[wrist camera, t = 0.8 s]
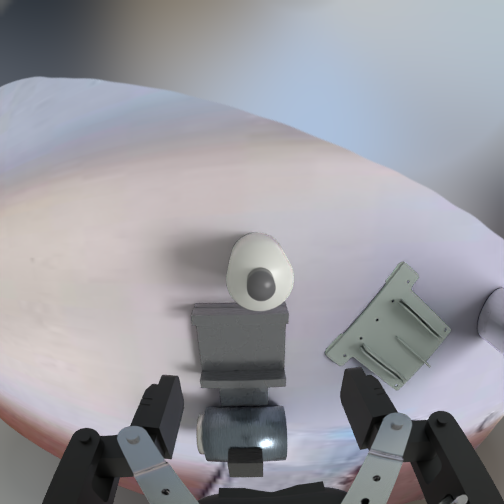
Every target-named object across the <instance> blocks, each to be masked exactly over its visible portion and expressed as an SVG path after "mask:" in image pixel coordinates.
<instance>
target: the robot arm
mask: <svg viewBox="0 0 504 504" xmlns="http://www.w3.org/2000/svg"><path fill="white" fill-rule="evenodd" d="M478 333H479V335H480V336H481V337H482V338H483V339H484V340H486V341H487V342H488V343H489V344H491V345H492V346H493V347H494V348H495V349H497V350H498V351H499V352H500V353H502V354H503V355H504V288H499V289H497V290H496V291H494V292H493V293H492V294H491V295H490V297H489V298H488V299H487V301H486V303H485V304H484V306H483V308H482V311H481V313H480V316H479V320H478ZM340 398H341V403H342V405H343V408H344V410H345V413H346V415H347V418H348V420H349V423H350V425H351V428H352V430H353V433H354V436H355V438H356V441H357V443H358V446H359V448H360V450H362V449H366V448H368V449H369V453H368V455H367V457H366V459H365V461H364V463H363V465H362V467H361V469H360V471H359V473H358V475H357V476H356V478H355V480H354V482H353V484H352V486H351V487H350V489H349V491H348V493H347V492H345V491H342V490H339V489H335V488H329V487H324V484H323V481H322V482H316V483H309V484H301V485H296V486H293V487H290V488H286V489H283V490H279V491H276V492H265V491H258V490H252V489H246V488H219V494H214V495H211V496H207V497H204V498H202V499H200V500H198V501H197V500H196V499H195V498H194V496H193V495H192V494H191V493H190V491H189V490H188V489H187V488H186V486H185V485H184V484H183V482H182V481H181V480H180V478H179V477H178V476H177V474H176V473H175V471H174V470H173V469H172V467H171V466H170V464H169V463H168V462H166V461H165V460H164V458H165V459H172V455H173V451H174V447H175V442H176V438H177V434H178V430H179V426H180V422H181V417H182V413H183V409H184V399H183V395H182V390H181V386H180V381H179V377H178V376H173V375H162V376H161V379H160V381H159V384H152V385H151V386H150V387H148V388H147V389H146V390H145V392H144V395H143V397H142V399H141V402H140V405H139V406H138V409H137V411H136V413H135V416H134V418H133V420H132V423H131V425H130V426H129V427H126V428H124V429H122V430H121V431H120V432H119V433H118V435H113V436H99V434H98V432H97V431H95V430H93V429H91V428H83V429H80V430H78V431H76V432H75V433H74V434H73V436H72V438H71V440H70V442H69V444H68V446H67V448H66V450H65V452H64V454H63V457H62V459H61V461H60V463H59V466H58V467H57V470H56V472H55V474H54V476H53V479H52V481H51V484H50V486H49V488H48V490H47V493H46V495H45V498H44V500H43V503H42V504H113V502H114V497H115V494H116V490H117V486H118V483H119V479H120V477H133V476H134V477H135V478H136V480H137V482H138V484H139V486H140V487H141V489H142V491H143V493H144V494H145V496H146V498H147V499H148V501H149V502H150V504H386V503H387V500H388V498H389V496H390V493H391V491H392V489H393V486H394V484H395V481H396V479H397V476H398V474H399V471H400V468H401V465H402V463H403V462H411V465H412V467H413V470H414V472H415V474H416V477H417V479H418V482H419V484H420V487H421V489H422V492H423V494H424V497H425V499H426V502H427V504H504V501H503V499H502V497H501V495H500V493H499V491H498V490H497V488H496V486H495V484H494V482H493V480H492V479H491V477H490V475H489V473H488V472H487V470H486V468H485V466H484V465H483V463H482V461H481V460H480V458H479V456H478V455H477V453H476V452H475V450H474V448H473V447H472V445H471V443H470V442H469V440H468V439H467V437H466V435H465V434H464V432H463V431H462V429H461V428H460V426H459V425H458V423H457V422H456V420H455V419H454V417H453V416H452V415H451V414H450V413H448V412H445V411H437V412H434V413H432V414H431V415H430V417H429V419H428V420H417V421H413V420H411V419H410V418H409V417H408V416H407V415H405V414H403V413H398V412H397V410H396V408H395V407H394V405H393V403H392V402H391V400H390V398H389V397H388V395H387V394H386V392H385V390H384V389H383V388H382V385H381V384H380V382H379V381H378V380H377V379H376V378H375V377H373V376H372V375H367V376H366V374H365V373H364V371H363V369H362V368H361V367H355V368H348V369H345V371H344V376H343V382H342V387H341V392H340Z"/></svg>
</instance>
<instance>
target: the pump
mask: <svg viewBox="0 0 504 504" xmlns="http://www.w3.org/2000/svg"><path fill="white" fill-rule="evenodd" d="M226 284H227V288H228V291H229V293H230V295H231V297H232V298H233V299H234V300H235V301H236V302H237V303H238V304H239V305H240V306H242V307H244V308H246V309H249V310H253V311H266V310H270V309H273V308H275V307H277V306H279V305H280V304H282V303H283V302H284V301H285V300H286V299H287V297H288V296H289V294H290V293H291V291H292V288H293V284H294V273H293V269H292V266H291V264H290V262H289V261H288V259H287V257H286V255H285V253H284V251H283V250H282V248H281V246H280V244H279V243H278V242H277V241H276V240H275V239H274V238H273V237H271V236H270V235H267V234H264V233H250V234H247V235H245V236H243V237H242V238H240V239H239V240H238V241H237V242H236V244H235V245H234V247H233V249H232V252H231V256H230V261H229V265H228V270H227V275H226Z"/></svg>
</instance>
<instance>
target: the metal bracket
mask: <svg viewBox="0 0 504 504" xmlns="http://www.w3.org/2000/svg"><path fill="white" fill-rule="evenodd" d="M418 277H419V276H418V274H417V273H416V272H415V271H414V270H413V269H412V268H411V267H410V266H408V265H407V264H406V263H405V262H401V263H399V264H398V265H397V267H396V268H395V269H394V271H393V272H392V273H391V274H390V276H389V277H388V278H387V280H386V284H385V286H384V287H383V288H382V290H381V291H380V292H379V293H378V294H377V296H376V297H375V298H374V299H373V301H372V302H371V303H370V304H369V305H368V307H367V308H366V309H365V310H364V311H363V312H362V314H361V315H360V316H359V317H358V318H357V319H356V320H355V322H354V323H353V324H352V325H351V326H350V327H349V328H348V329H347V331H346V332H345V333H343V334H340V335H339V336H338V337H337V338H336V339H335V340H334V341H333V342H332V343H331V345H330V346H329V347H328V348H327V349H326V351H325V354H326V355H327V357H328V358H330V359H331V360H332V361H334V362H335V363H336V364H338V365H339V366H343V365H344V364H345V363H346V362H347V361H348V360H349V359H350V358H351V357H354V358H355V359H356V360H358V361H359V362H360V363H361V364H363V365H364V366H365V367H367V368H368V369H369V370H370V371H372V372H373V373H374V374H376V375H377V376H378V377H379V378H381V379H382V380H383V381H385V382H386V383H387V384H388V385H390V386H391V387H392V388H394V389H395V390H399V389H400V388H401V387H402V386H403V385H404V384H405V383H406V382H407V381H408V380H409V379H410V378H411V377H412V376H413V375H414V374H415V373H416V372H417V371H418V369H419V368H420V367H421V366H422V365H423V364H424V363H425V364H426V365H427V366H429V367H431V366H430V365H429V364H428V363H427V362H426V361H427V359H428V358H429V357H430V356H431V355H432V354H433V353H434V351H435V350H436V349H437V348H438V347H439V345H440V344H441V343H442V342H443V341H444V339H445V338H446V337H447V336H448V334H449V333H450V331H451V329H450V328H449V327H448V326H447V325H446V324H445V323H444V322H443V321H442V320H441V319H440V318H439V317H438V316H437V315H436V314H435V313H434V312H433V311H432V310H431V309H430V308H429V307H428V306H427V305H426V304H425V303H424V302H423V301H422V300H421V299H420V298H419V297H418V296H417V295H416V294H415V293H414V292H413V291H412V290H411V288H412V286H413V285H414V283H415V282H416V281H417V279H418ZM408 280H409V283H407V281H408ZM392 300H394V302H392ZM376 319H378V321H376ZM445 328H447V330H446V331H445V332H444V329H445ZM360 337H362V339H360ZM344 354H346V356H343V355H344ZM395 384H398V385H397V386H395Z"/></svg>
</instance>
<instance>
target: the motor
mask: <svg viewBox="0 0 504 504" xmlns="http://www.w3.org/2000/svg"><path fill="white" fill-rule="evenodd" d="M288 317H289V313H288V310H287V307H286V303H285V301H284V302H283V303H282V304H280V305H279V306H277V307H275V308H273V309H270V310H266V311H253V310H249V309H246V308H244V307H242V306H240V305H239V304H238V303H196V304H195V306H194V309H193V312H192V314H191V320H192V326H196V328H197V336H198V344H199V351H200V359H201V366H202V374H201V378H200V383H201V388H219V391H220V399H221V406H251V405H268V387H284V386H286V376H285V371H284V359H285V329H286V324H288ZM197 447H198V451H199V453H200V454H205V457H206V460H207V461H215V462H228V469H229V474H230V477H263V461H279V460H286V457H287V427H286V417H285V411H284V407H283V406H270V407H233V408H231V407H207V408H206V411H205V414H199V417H198V421H197Z"/></svg>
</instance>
